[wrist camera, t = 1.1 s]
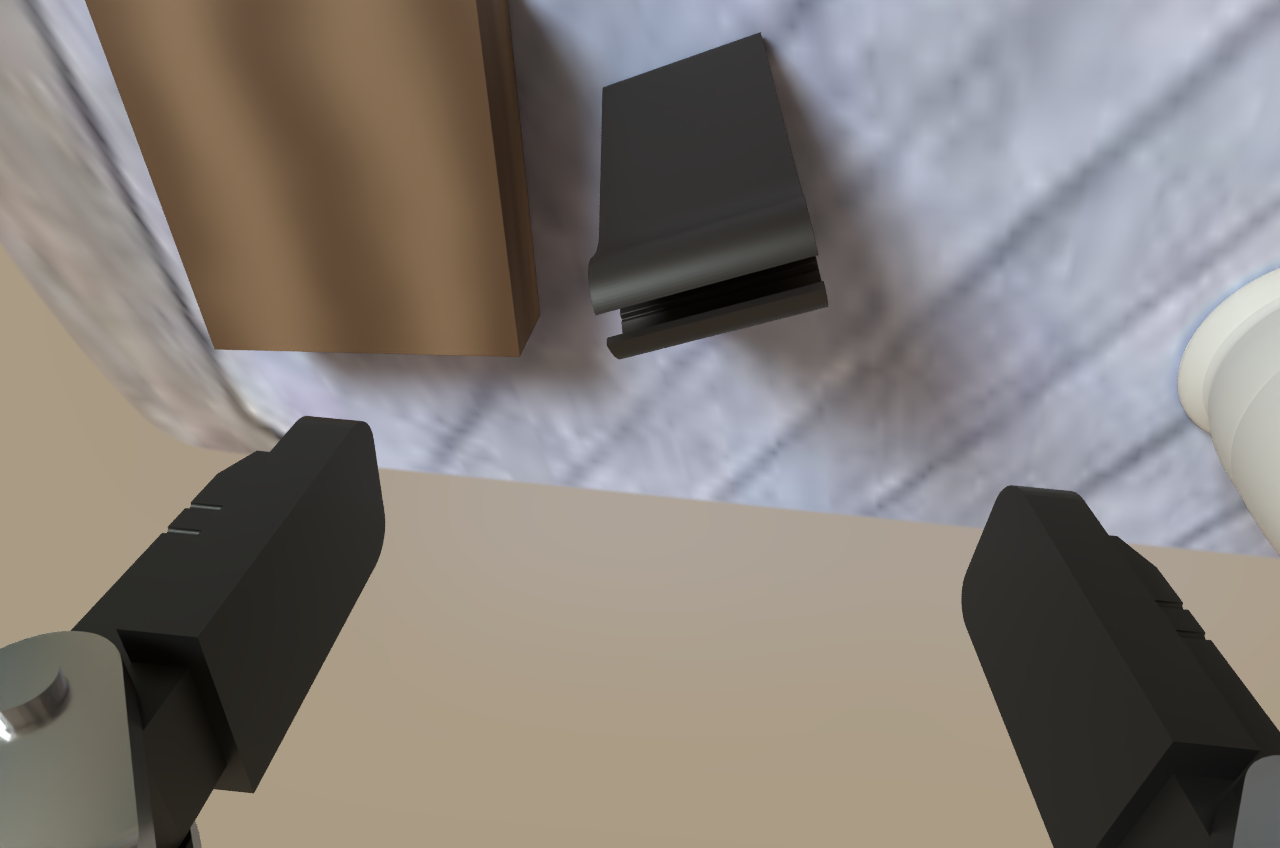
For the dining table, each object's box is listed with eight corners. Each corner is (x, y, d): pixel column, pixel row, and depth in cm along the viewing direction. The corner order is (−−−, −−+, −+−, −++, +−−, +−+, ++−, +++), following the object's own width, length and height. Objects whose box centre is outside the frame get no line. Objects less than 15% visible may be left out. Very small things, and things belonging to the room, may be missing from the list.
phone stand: (810, 263, 31) (852, 418, 21) (672, 299, 32) (649, 460, 22) (761, 30, 26) (785, 86, 16) (604, 84, 28) (537, 166, 18)
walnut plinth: (505, -24, 26) (473, -19, 23) (539, 314, 33) (519, 356, 30) (159, -17, 27) (80, -11, 24) (263, 309, 34) (214, 349, 31)
